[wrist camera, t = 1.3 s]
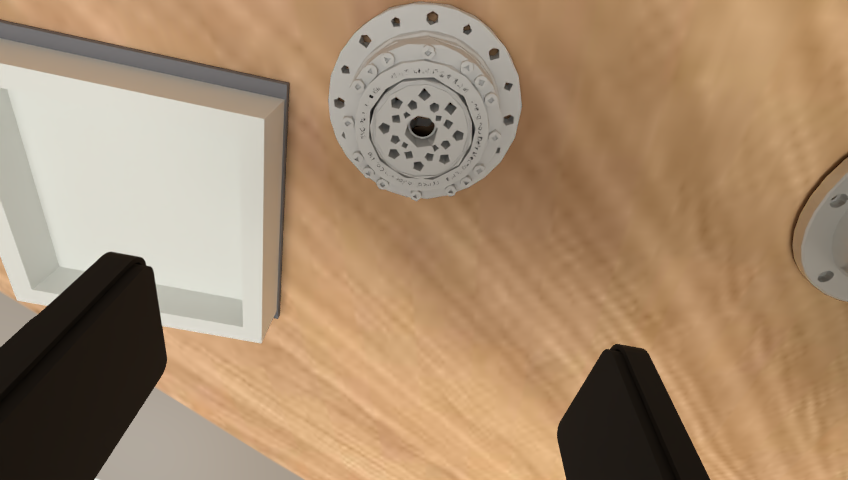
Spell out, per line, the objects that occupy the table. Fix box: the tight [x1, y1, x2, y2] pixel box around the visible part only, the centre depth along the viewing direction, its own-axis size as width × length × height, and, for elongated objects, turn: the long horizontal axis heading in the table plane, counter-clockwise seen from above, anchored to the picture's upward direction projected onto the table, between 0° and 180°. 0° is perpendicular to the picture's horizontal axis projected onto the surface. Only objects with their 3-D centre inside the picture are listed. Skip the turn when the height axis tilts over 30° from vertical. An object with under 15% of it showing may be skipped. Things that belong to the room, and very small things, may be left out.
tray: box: [0, 38, 285, 343], centre depth 27 cm, size 15×15×3 cm
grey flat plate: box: [0, 20, 289, 319], centre depth 28 cm, size 16×17×1 cm
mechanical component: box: [328, 2, 522, 201], centre depth 23 cm, size 10×4×10 cm
